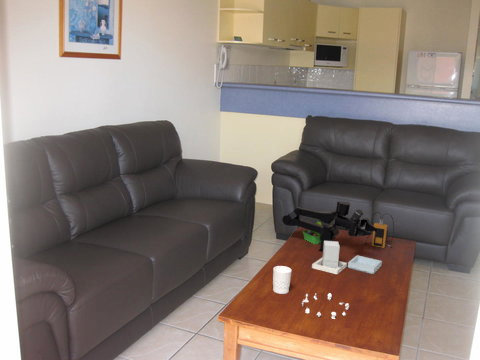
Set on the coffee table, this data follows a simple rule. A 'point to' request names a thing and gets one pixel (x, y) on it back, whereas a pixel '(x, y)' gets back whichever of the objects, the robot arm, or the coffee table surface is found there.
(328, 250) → the supplement box
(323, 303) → the coffee table surface
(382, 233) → the multimeter
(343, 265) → the frame
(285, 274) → the white cup
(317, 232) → the robot arm
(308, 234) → the fruit basket
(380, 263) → the tray
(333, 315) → the game piece set
